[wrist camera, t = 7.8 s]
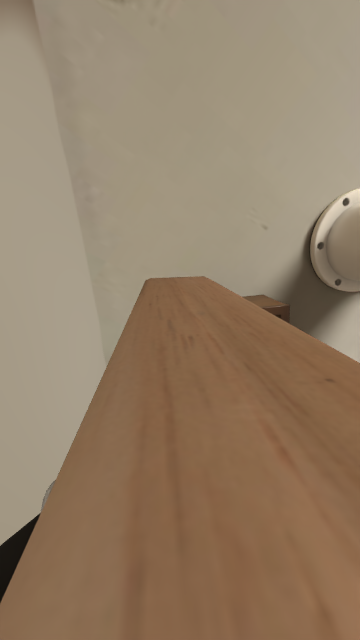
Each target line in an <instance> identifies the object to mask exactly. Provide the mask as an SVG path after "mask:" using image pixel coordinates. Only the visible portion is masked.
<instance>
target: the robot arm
mask: <svg viewBox="0 0 360 640" xmlns="http://www.w3.org/2000/svg"><path fill="white" fill-rule="evenodd" d="M317 245H318V247H317ZM310 256H311V261H312V265H313V268H314V270H315V272H316V274H317V275H318V277H319V278H320V279H321V280H322V281H323V282H324V283H325V284H327V285H328V286H330V287H332V288H334V289H337V290H341V291H347V292H357V291H360V188H358V189H355V190H352V191H349V192H347V193H345V194H343V195H341V196H340V197H338V198H337V199H336V200H334V201H333V202H332V203H331V204H330V205H329V206H328V207H327V208H326V209H325V210H324V212H323V213H322V215H321V216H320V218H319V219H318V221H317V223H316V226H315V228H314V230H313V234H312V237H311V244H310ZM55 481H56V480H55ZM55 481H54V482H53V483H52V484H51V485H50V487H49V488H48V490H47V491H46V494H45V496H44V499H43V504H42V509H41V512H42V510H43V508H44V505H45V503H46V501H47V499H48V496H49V494H50V492H51V490H52V488H53V485H54V483H55ZM40 514H41V513H40ZM40 514H39V515H37V516H36V517H35V518H34V519H33V520H31V521H30V522H29V523H28V524H26V525H25V526H24V527H23V528H21V530H19V531H18V532H17V533H15V534H14V535H13V536H12V537H10V538H9V539H8V540H7V541H5V542H4V543H3V544H2V545H1V546H0V603H1V601H2V599H3V596H4V594H5V592H6V590H7V588H8V585H9V583H10V581H11V579H12V576H13V574H14V572H15V570H16V568H17V565H18V563H19V561H20V559H21V556H22V554H23V552H24V550H25V548H26V545H27V543H28V541H29V539H30V536H31V534H32V532H33V530H34V528H35V525H36V523H37V521H38V519H39V516H40Z"/></svg>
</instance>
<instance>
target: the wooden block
mask: <svg viewBox="0 0 360 640" xmlns="http://www.w3.org/2000/svg"><path fill="white" fill-rule="evenodd" d="M0 640H360V363H359V362H357V361H355V360H353V359H351V358H350V357H348V356H346V355H344V354H342V353H341V352H339V351H337V350H335V349H334V348H332V347H330V346H328V345H326V344H325V343H323V342H321V341H319V340H317V339H316V338H314V337H312V336H310V335H309V334H307V333H305V332H303V331H301V330H300V329H298V328H296V327H294V326H292V325H291V324H289V323H287V322H285V321H284V320H282V319H280V318H278V317H276V316H275V315H273V314H271V313H269V312H267V311H266V310H264V309H262V308H260V307H259V306H257V305H255V304H253V303H251V302H250V301H248V300H246V299H244V298H243V297H241V296H239V295H237V294H235V293H234V292H232V291H230V290H228V289H227V288H225V287H223V286H221V285H219V284H218V283H216V282H214V281H212V280H210V279H209V278H206V277H204V276H202V277H175V278H150V279H148V280H146V281H145V283H144V285H143V288H142V290H141V292H140V294H139V297H138V299H137V301H136V303H135V305H134V308H133V310H132V312H131V314H130V316H129V319H128V321H127V323H126V325H125V328H124V330H123V332H122V334H121V336H120V339H119V341H118V343H117V345H116V348H115V350H114V352H113V354H112V356H111V359H110V361H109V363H108V365H107V368H106V370H105V372H104V374H103V377H102V379H101V381H100V383H99V385H98V388H97V390H96V392H95V394H94V396H93V399H92V401H91V403H90V405H89V408H88V410H87V412H86V414H85V417H84V419H83V421H82V423H81V426H80V428H79V430H78V432H77V434H76V437H75V439H74V441H73V443H72V445H71V448H70V450H69V452H68V454H67V456H66V459H65V461H64V463H63V466H62V468H61V470H60V472H59V475H58V477H57V479H56V481H55V483H54V485H53V488H52V490H51V492H50V494H49V496H48V499H47V501H46V503H45V505H44V508H43V510H42V512H41V514H40V516H39V519H38V521H37V523H36V525H35V528H34V530H33V532H32V534H31V536H30V539H29V541H28V543H27V545H26V548H25V550H24V552H23V554H22V556H21V559H20V561H19V563H18V565H17V568H16V570H15V572H14V574H13V576H12V579H11V581H10V583H9V585H8V588H7V590H6V592H5V594H4V596H3V599H2V601H1V603H0Z"/></svg>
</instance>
